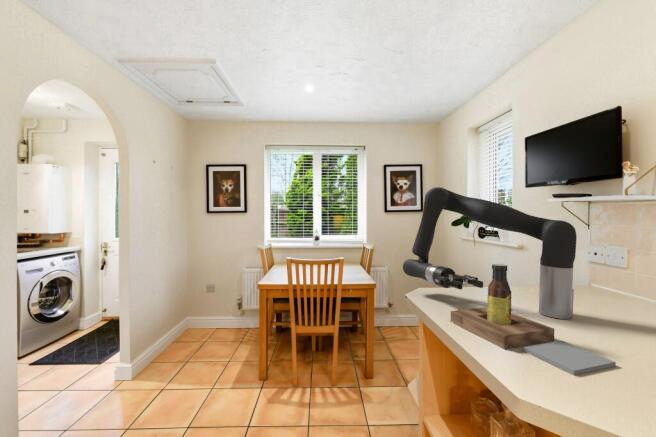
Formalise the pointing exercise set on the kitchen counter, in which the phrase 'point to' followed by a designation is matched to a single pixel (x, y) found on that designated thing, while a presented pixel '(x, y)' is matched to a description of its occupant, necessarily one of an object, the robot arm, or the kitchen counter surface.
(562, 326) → the kitchen counter surface
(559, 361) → the grey mat
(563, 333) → the kitchen counter surface
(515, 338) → the seat block
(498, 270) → the sauce bottle
